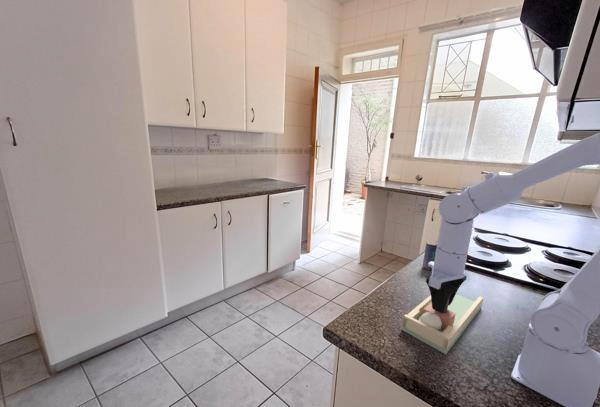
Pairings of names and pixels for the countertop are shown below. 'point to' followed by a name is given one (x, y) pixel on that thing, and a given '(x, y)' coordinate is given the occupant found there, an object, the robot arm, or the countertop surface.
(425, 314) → the ball
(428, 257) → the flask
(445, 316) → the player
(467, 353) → the countertop surface
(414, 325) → the pitch
